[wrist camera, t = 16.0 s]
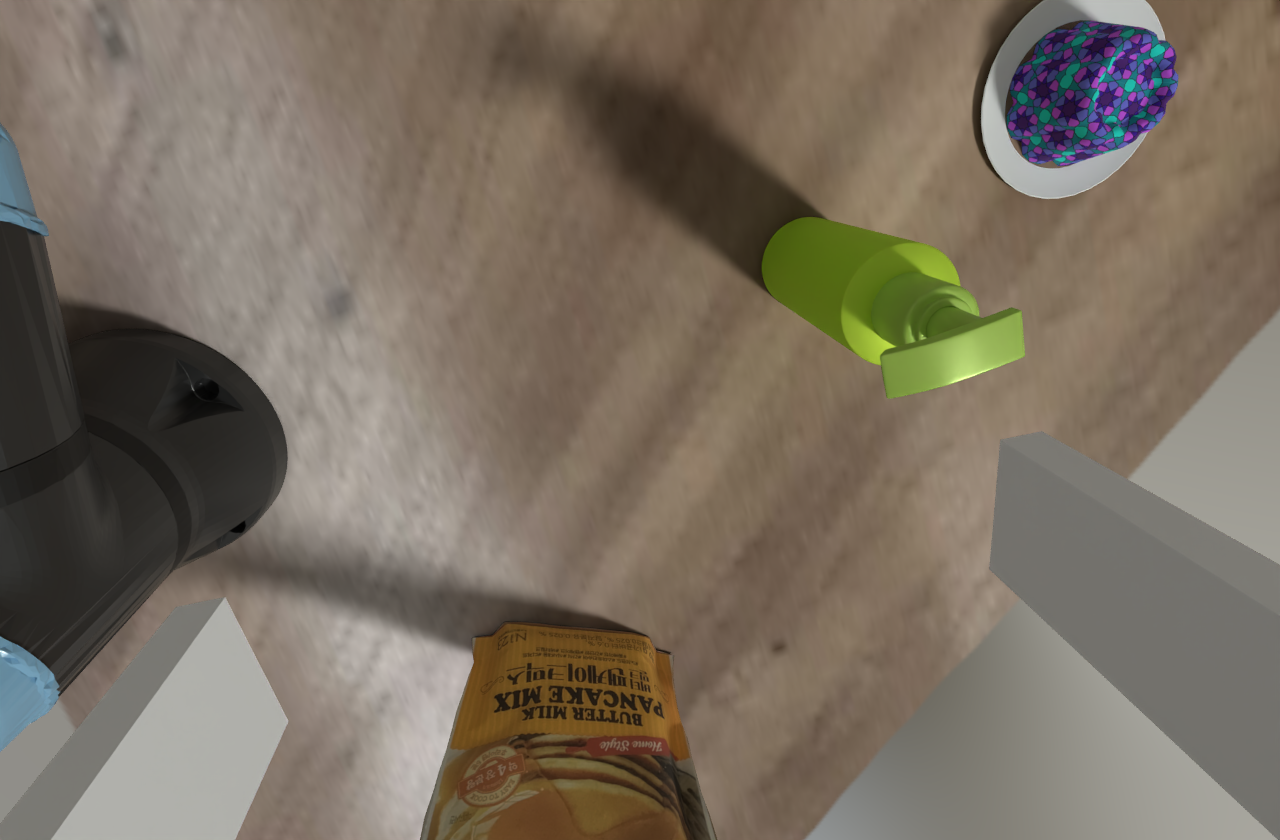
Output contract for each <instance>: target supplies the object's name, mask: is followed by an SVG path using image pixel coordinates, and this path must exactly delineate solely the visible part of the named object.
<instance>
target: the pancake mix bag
mask: <svg viewBox="0 0 1280 840" xmlns="http://www.w3.org/2000/svg"><path fill="white" fill-rule="evenodd" d="M472 650H473V659H474V664H473V667H472V669H471V672H470V674H469V677H468V680H467V683H466V686H465V689H464V692H463V695H462V698H461V700H460V703H459V706H458V709H457V712H456V716H455V720H454V724H453V728H452V732H451V735H450V739H449V743H448V746H447V750H446V753H445V756H444V759H443V762H442V765H441V768H440V771H439V774H438V777H437V781H436V784H435V788H434V791H433V794H432V797H431V800H430V803H429V806H428V809H427V812H426V815H425V818H424V823H423V828H422V833H421V838H420V840H717V837H716V834H715V831H714V827H713V824H712V821H711V818H710V815H709V812H708V809H707V806H706V804H705V801H704V799H703V796H702V793H701V790H700V786H699V782H698V778H697V774H696V770H695V767H694V763H693V760H692V756H691V752H690V747H689V743H688V739H687V736H686V733H685V731H684V728H683V726H682V723H681V720H680V716H679V712H678V708H677V702H676V695H675V687H674V679H673V664H674V655H671V654H668V653H664V652H660V651H657V650H656V649H655V647H654V645H653V644H652V642H651V640H650V638H649V637H647V636H643V635H639V634H636V633H632V632H624V631H613V630H603V629H593V628H582V627H566V626H555V625H548V624H540V623H529V622H504V623H503V624H502V625H501V626H500V627H499V628H498V629H497V631H496V632H495V633H494V634H493V635H490V636H483V637H476V638H472Z"/></svg>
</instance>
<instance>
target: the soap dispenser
mask: <svg viewBox="0 0 1280 840" xmlns="http://www.w3.org/2000/svg"><path fill="white" fill-rule="evenodd" d="M762 276H763V280H764V283H765V285H766V288H767V289H768V291H769V292H770V294H771V295H772V296H773V297H774V298H775V299H776V300H777V301H779V302H780V303H782V304H783V305H785V306H786V307H788V308H789V309H791V310H792V311H794V312H795V313H796V314H798V315H799V316H801V317H802V318H804V319H805V320H807V321H808V322H810V323H811V324H813V325H814V326H816V327H817V328H818V329H820V330H821V331H823V332H824V333H826V334H827V335H829V336H830V337H832V338H833V339H835V340H836V341H838V342H839V343H840V344H842V345H843V346H845V347H846V348H848V349H849V350H851V351H852V352H854V353H855V354H857V355H858V356H860V357H861V358H863V359H864V360H866V361H868V362H871V363H873V364H877V365H881V368H882V374H883V380H884V386H885V391H886V396H887V398H888V399H889V398H896V397H901V396H906V395H910V394H915V393H919V392H923V391H928V390H931V389H935V388H939V387H942V386H946V385H949V384H952V383H956V382H959V381H962V380H965V379H968V378H970V377H973V376H976V375H979V374H981V373H984V372H987V371H989V370H992V369H995V368H997V367H1000V366H1002V365H1005V364H1007V363H1010V362H1012V361H1015V360H1017V359H1020V358H1022V357H1025V350H1024V337H1023V324H1022V312H1021V310H1018V309H1015V308H1009V309H1006V310H1004V311H1001V312H998V313H995V314H993V315H990V316H987V317H985V318H981V317H979V308H978V305H977V302H976V300H975V298H974V297H973V296H972V294H971V293H970V292H968V291H967V290H966V289H964V288H962V287H960V281H959V277H958V274H957V271H956V269H955V267H954V265H953V264H952V262H951V261H950V260H949V258H948V257H947V256H946V255H945V254H943V253H942V252H941V251H939V250H938V249H936V248H934V247H932V246H930V245H927V244H923V243H919V242H915V241H911V240H907V239H903V238H899V237H895V236H891V235H887V234H883V233H879V232H875V231H871V230H866V229H862V228H858V227H854V226H850V225H846V224H842V223H838V222H834V221H830V220H826V219H822V218H818V217H803V218H799V219H796V220H793V221H791V222H789V223H787V224H786V225H784V226H783V227H781V228H780V229H779V230H778V231H777V232H776V233H775V234H774V235H773V237H772V238H771V240H770V241H769V243H768V245H767V247H766V249H765V252H764V255H763V260H762Z"/></svg>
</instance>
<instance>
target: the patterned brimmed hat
mask: <svg viewBox="0 0 1280 840" xmlns="http://www.w3.org/2000/svg"><path fill="white" fill-rule="evenodd" d="M1080 20H1092V21H1084V22H1080V23H1078V24H1077V25H1076V26H1075V27H1074V28H1073V29H1072V30H1065V29H1056V30H1054V29H1055V28H1057V27H1059V26H1062V25H1064V24H1067V23H1070V22H1075V21H1080ZM1052 30H1054V31H1052ZM1050 31H1052V32H1050ZM1049 32H1050V33H1049ZM1047 33H1048V34H1047ZM1043 36H1044V37H1043ZM1042 37H1043V38H1042ZM1041 38H1042V39H1041ZM1040 39H1041V40H1040ZM1039 40H1040V41H1039ZM1037 41H1039V42H1038V43H1037V44H1036V48H1035V51H1034V54H1033V57H1032V59H1031V60H1029V61H1027V62H1025V63H1024V64H1022V65H1020V66H1019V68H1018V70H1017V71H1016V69H1017V67H1018V65H1019V64H1020V62H1021V61H1022V59H1023V58H1024V56H1025V55H1026V53H1027V52H1028V51H1029V50H1030V49H1031V48H1032V47H1033V46H1034V44H1035V43H1036V42H1037ZM1175 61H1176V54H1175V50H1174V48H1173V47H1172V46H1171V45H1170V44H1169V43H1168V42H1167V41H1165V36H1164V32H1163V29H1162V27H1161V24H1160V22H1159V19H1158V17H1157V15H1156V14H1155V12H1154V11H1153V9H1152V8H1151V6H1150V5H1149V4H1148V3H1147V2H1146V1H1145V0H1043V1H1042V2H1040V3H1039V4H1038V5H1037V6H1036V7H1035V8H1033V9H1032V10H1031V11H1030V12H1029V13H1028V14H1026V15H1025V16H1024V18H1023V19H1022V20H1021V21H1020V22H1019V23H1018V24H1017V26H1016V27H1015V28H1014V29H1013V30H1012V31H1011V33H1010V35H1009V36H1008V38H1007V39H1006V41H1005V42H1004V44H1003V45H1002V47H1001V48H1000V50H999V52H998V54H997V56H996V58H995V61H994V63H993V65H992V67H991V70H990V73H989V76H988V79H987V82H986V85H985V89H984V95H983V100H982V108H981V128H982V135H983V142H984V145H985V148H986V152H987V155H988V158H989V159H990V161H991V163H992V165H993V167H994V169H995V170H996V172H997V173H998V174H999V175H1000V176H1001V177H1002V179H1003V180H1004V181H1005V182H1006V183H1008V184H1009V185H1010V186H1012V187H1013V188H1014V189H1016V190H1017V191H1020V192H1022V193H1024V194H1026V195H1029V196H1033V197H1038V198H1043V199H1049V198H1063V197H1067V196H1072V195H1076V194H1078V193H1081V192H1083V191H1086V190H1088V189H1090V188H1092V187H1094V186H1095V185H1097V184H1099V183H1101V182H1102V181H1104V180H1105V179H1107V178H1108V177H1109V176H1110V175H1112V174H1113V173H1114V172H1115V171H1117V170H1118V169H1119V168H1120V167H1121V166H1122V165H1123V164H1124V163H1125V162H1126V161H1127V160H1128V159H1129V158H1130V157H1131V156H1132V154H1133V153H1134V152H1135V150H1136V149H1137V148H1138V146H1139V145H1140V144H1141V142H1142V141H1143V139H1144V137H1145V136H1146V134H1147V132H1148V131H1150V130H1151V129H1152V128H1153V127H1155V126H1156V125H1157V124H1158V123H1159V122H1160V120H1161V119H1162V117H1163V116H1164V114H1165V110H1166V103H1167V102H1168V101H1169V100H1170V99H1171V98H1172V97H1173V96H1174V94H1175V91H1176V89H1177V86H1178V75H1177V73H1176V72H1175V70H1174V69H1173V68H1174V65H1175ZM1015 71H1016V73H1015ZM1014 73H1015V74H1014ZM1013 75H1014V76H1013ZM1011 80H1012V83H1011ZM1010 83H1011V87H1010V93H1011V96H1012V99H1013V102H1014V103H1013V105H1012V107H1011V108H1010V110H1009V112H1008V114H1007V129H1008V132H1009V134H1010V136H1011V138H1013V139H1016V140H1018V141H1021V142H1022V155H1023V156H1024V157H1025V158H1026V159H1027V160H1028V161H1029V162H1032V163H1036V164H1041V163H1045V162H1048V161H1053V162H1054V163H1055V164H1057V165H1058V166H1066V165H1071V164H1073V165H1071V166H1068V167H1063V168H1058V169H1047V168H1042V167H1038V166H1035V165H1033V164H1031V163H1029V162H1028V161H1026V160H1025V159H1024V158H1022V157H1021V156H1020V155H1019V153H1018V152H1017V151H1016V150H1015V149H1014V147H1013V145H1012V143H1011V141H1010V139H1009V136H1008V132H1007V129H1006V121H1005V105H1006V99H1007V94H1008V89H1009V86H1010ZM1080 161H1081V162H1080ZM1077 162H1079V163H1077ZM1074 163H1076V164H1074Z"/></svg>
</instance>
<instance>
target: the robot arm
mask: <svg viewBox="0 0 1280 840" xmlns="http://www.w3.org/2000/svg"><path fill="white" fill-rule="evenodd" d="M44 236H49V233H48V229H47V226H46V225H45V224H44V222H43V221H42V220H40V219H39V218H37V214H36V211H35V208H34V204H33V201H32V197H31V194H30V191H29V187H28V184H27V180H26V177H25V174H24V170H23V167H22V164H21V160H20V157H19V153H18V150H17V148H16V145H15V143H14V141H13V139H12V137H11V136H10V134H9V133H8V131H7V130H6V129H5V128H4V126H3V125H2V124H1V123H0V752H1V751H2V750H3V749H4V748H5V747H6V746H7V745H8V744H9V743H10V742H11V741H12V740H13V739H14V738H15V737H16V736H17V735H18V734H19V733H20V732H21V731H22V730H23V729H24V728H26V726H28V725H29V724H30V723H32V722H34V721H36V720H37V719H38V718H40V717H41V716H43V715H45V714H46V713H48V712H49V711H50V710H51V708H52V707H53V706H54V705H55V703H56V702H57V700H58V698H59V696H60V695H61V694H62V693H63V692H64V691H65V690H66V689H67V687H68V686H69V685H70V684H71V683H72V682H73V681H74V680H75V679H76V677H77V676H78V675H79V674H80V673H81V672H82V671H83V670H84V669H85V667H86V666H87V665H88V664H89V663H90V662H91V661H92V660H93V659H94V657H95V656H96V655H97V654H98V653H99V652H100V651H101V650H102V649H103V648H104V646H105V645H106V644H107V643H108V642H109V641H110V640H111V639H112V638H113V636H114V635H115V634H116V633H117V632H118V631H119V630H120V629H121V628H122V626H123V625H124V624H125V623H126V622H127V621H128V620H129V619H130V618H131V616H132V615H133V614H134V613H135V612H136V611H137V610H138V609H139V608H140V606H141V605H142V604H143V603H144V602H145V601H146V600H147V599H148V598H149V597H150V595H151V594H152V593H153V592H154V591H155V590H156V589H157V588H158V587H159V585H160V584H161V583H162V582H163V581H164V580H165V579H166V578H167V577H168V575H169V574H170V573H171V572H172V571H173V570H175V569H178V568H180V567H182V566H184V565H186V564H188V563H190V562H192V561H195V560H197V559H199V558H201V557H203V556H205V555H207V554H210V553H212V552H214V551H216V550H218V549H220V548H222V547H224V546H226V545H228V544H230V543H232V542H233V541H235V540H236V539H238V538H239V537H241V536H242V535H243V534H245V533H246V532H247V531H248V530H250V529H251V528H252V527H253V526H254V525H255V524H256V523H257V521H258V520H259V519H260V518H261V517H262V515H263V514H264V513H265V512H266V511H267V510H268V508H269V507H270V506H271V505H272V503H273V502H274V500H275V499H276V497H277V496H278V494H279V492H280V490H281V488H282V485H283V482H284V479H285V475H286V469H287V445H286V439H285V435H284V431H283V428H282V425H281V423H280V420H279V418H278V416H277V414H276V412H275V410H274V408H273V406H272V405H271V403H270V402H269V400H268V398H267V397H266V396H265V394H264V393H263V392H262V390H261V389H260V388H259V387H258V386H257V385H256V383H255V382H254V381H253V380H252V379H251V378H250V377H249V376H248V375H247V374H245V373H244V372H243V371H242V370H241V369H240V368H239V367H237V366H236V365H235V364H233V363H232V362H231V361H229V360H228V359H226V358H225V357H223V356H222V355H220V354H218V353H217V352H215V351H213V350H211V349H209V348H208V347H206V346H203V345H201V344H199V343H197V342H194V341H192V340H189V339H186V338H183V337H180V336H177V335H173V334H169V333H165V332H160V331H153V330H144V329H120V330H111V331H105V332H101V333H97V334H93V335H90V336H87V337H85V338H82V339H79V340H77V341H74V342H72V343H69V344H68V341H67V336H66V332H65V328H64V323H63V319H62V314H61V310H60V305H59V301H58V296H57V292H56V288H55V283H54V279H53V274H52V270H51V265H50V261H49V257H48V252H47V248H46V243H45V239H44ZM989 569H990V570H991V571H992V572H993V573H994V574H995V575H996V576H997V577H998V578H999V579H1000V580H1001V581H1003V582H1004V583H1005V584H1006V585H1007V586H1008V587H1009V588H1010V589H1011V590H1012V591H1013V592H1014V593H1015V594H1016V595H1017V596H1019V597H1020V598H1021V599H1022V600H1023V601H1024V602H1025V603H1026V604H1027V605H1028V606H1029V607H1030V608H1031V609H1033V610H1034V611H1035V612H1036V613H1037V614H1038V615H1039V616H1040V617H1041V618H1042V619H1043V620H1044V621H1045V622H1046V623H1047V624H1048V625H1050V626H1051V627H1052V628H1053V629H1054V630H1055V631H1056V632H1057V633H1058V634H1059V635H1060V636H1061V637H1063V639H1064V640H1066V641H1067V642H1068V643H1069V644H1070V645H1071V646H1072V647H1073V648H1074V649H1075V650H1076V651H1077V652H1078V653H1079V654H1080V655H1082V656H1083V657H1084V658H1085V659H1086V660H1087V661H1088V662H1089V663H1090V664H1091V665H1092V666H1093V667H1094V668H1095V669H1096V670H1097V671H1099V672H1100V673H1101V674H1102V675H1103V676H1104V677H1105V678H1106V679H1107V680H1108V681H1109V682H1110V683H1111V684H1112V685H1113V686H1115V687H1116V688H1117V689H1118V690H1119V691H1120V692H1121V693H1122V694H1123V695H1124V696H1125V697H1126V698H1127V699H1129V701H1131V702H1132V703H1133V704H1134V705H1135V706H1136V707H1137V708H1138V709H1139V710H1140V711H1141V712H1142V713H1143V714H1144V715H1145V716H1147V717H1148V718H1149V719H1150V720H1151V721H1152V722H1153V723H1154V724H1155V725H1156V726H1157V727H1158V728H1159V729H1160V730H1162V731H1163V732H1164V733H1165V734H1166V735H1167V736H1168V737H1169V738H1170V739H1171V740H1172V741H1173V742H1174V743H1175V744H1176V745H1177V746H1179V747H1180V748H1181V749H1182V750H1183V751H1184V752H1185V753H1186V754H1187V755H1188V756H1189V757H1190V758H1191V759H1192V760H1194V761H1195V762H1196V763H1197V764H1198V765H1199V766H1200V767H1201V768H1202V769H1203V770H1204V771H1205V772H1206V773H1207V774H1209V775H1210V776H1211V777H1212V778H1213V779H1214V780H1215V781H1216V782H1217V783H1218V784H1219V785H1220V786H1222V788H1223V789H1224V790H1226V791H1227V792H1228V793H1229V794H1230V795H1231V796H1232V797H1233V798H1234V799H1235V800H1236V801H1237V802H1238V803H1239V804H1240V805H1242V806H1243V807H1244V808H1245V809H1246V810H1247V811H1248V812H1249V813H1250V814H1251V815H1252V816H1253V817H1254V818H1255V819H1257V820H1258V821H1259V822H1260V823H1261V824H1262V825H1263V826H1264V827H1265V828H1266V829H1267V830H1268V831H1269V832H1270V833H1272V835H1274V836H1275V837H1276V838H1277V839H1278V840H1280V565H1279V564H1277V563H1276V562H1274V561H1272V560H1270V559H1268V558H1267V557H1265V556H1263V555H1261V554H1260V553H1258V552H1256V551H1254V550H1252V549H1250V548H1249V547H1247V546H1245V545H1244V544H1242V543H1240V542H1238V541H1236V540H1235V539H1233V538H1231V537H1229V536H1227V535H1226V534H1224V533H1222V532H1220V531H1219V530H1217V529H1215V528H1213V527H1211V526H1209V525H1208V524H1206V523H1204V522H1202V521H1201V520H1199V519H1197V518H1195V517H1194V516H1192V515H1190V514H1188V513H1186V512H1185V511H1183V510H1181V509H1179V508H1177V507H1176V506H1174V505H1172V504H1170V503H1169V502H1167V501H1165V500H1163V499H1161V498H1160V497H1158V496H1156V495H1154V494H1153V493H1151V492H1149V491H1147V490H1145V489H1144V488H1142V487H1140V486H1138V485H1137V484H1135V483H1133V482H1131V481H1129V480H1128V479H1126V478H1124V477H1122V476H1121V475H1119V474H1117V473H1115V472H1113V471H1112V470H1110V469H1108V468H1106V467H1104V466H1103V465H1101V464H1099V463H1097V462H1096V461H1094V460H1092V459H1090V458H1088V457H1087V456H1085V455H1083V454H1081V453H1080V452H1078V451H1076V450H1074V449H1072V448H1071V447H1069V446H1067V445H1065V444H1063V443H1062V442H1060V441H1058V440H1056V439H1055V438H1053V437H1051V436H1049V435H1047V434H1046V433H1044V432H1042V431H1041V432H1036V433H1031V434H1026V435H1021V436H1017V437H1012V438H1007V439H1002V440H1000V450H999V462H998V473H997V485H996V497H995V508H994V520H993V532H992V543H991V555H990V567H989ZM287 723H288V719H287V717H286V715H285V713H284V711H283V710H282V708H281V706H280V704H279V702H278V700H277V698H276V696H275V694H274V692H273V690H272V688H271V686H270V684H269V682H268V680H267V678H266V676H265V674H264V672H263V670H262V668H261V666H260V664H259V663H258V661H257V659H256V657H255V655H254V653H253V651H252V649H251V647H250V645H249V643H248V641H247V639H246V637H245V635H244V633H243V631H242V629H241V627H240V625H239V623H238V621H237V619H236V617H235V615H234V614H233V612H232V610H231V608H230V606H229V604H228V602H227V600H226V598H225V597H223V598H218V599H214V600H209V601H204V602H199V603H194V604H189V605H184V606H179V607H176V608H175V609H174V610H173V611H172V612H171V614H170V615H169V616H168V617H167V619H166V620H165V621H164V622H163V624H162V625H161V626H160V627H159V628H158V630H157V631H156V632H155V633H154V635H153V636H152V637H151V638H150V640H149V641H148V642H147V643H146V645H145V646H144V647H143V648H142V649H141V651H140V652H139V653H138V654H137V656H136V657H135V658H134V659H133V661H132V662H131V663H130V664H129V665H128V667H127V668H126V669H125V670H124V672H123V673H122V674H121V675H120V677H119V678H118V679H117V680H116V681H115V683H114V684H113V685H112V686H111V688H110V689H109V690H108V691H107V693H106V694H105V695H104V696H103V698H102V699H101V700H100V701H99V702H98V704H97V705H96V706H95V707H94V709H93V710H92V711H91V712H90V714H89V715H88V716H87V717H86V718H85V720H84V721H83V722H82V723H81V725H80V726H79V727H78V728H77V730H76V731H75V732H74V733H73V734H72V736H71V737H70V738H69V739H68V741H67V742H66V743H65V744H64V746H63V747H62V748H61V749H60V751H59V752H58V753H57V754H56V755H55V757H54V758H53V759H52V760H51V762H50V763H49V764H48V765H47V767H46V768H45V769H44V770H43V772H42V773H41V774H40V775H39V777H38V778H37V779H36V780H35V781H34V783H33V784H32V785H31V786H30V787H29V789H28V790H27V791H26V792H25V794H24V795H23V796H22V797H21V799H20V800H19V801H18V802H17V804H16V805H15V806H14V807H13V808H12V810H11V811H10V812H9V813H8V815H7V816H6V817H5V818H4V820H3V821H2V822H1V823H0V840H235V839H236V836H237V834H238V832H239V830H240V828H241V825H242V823H243V821H244V819H245V816H246V814H247V812H248V810H249V808H250V805H251V803H252V801H253V799H254V796H255V794H256V792H257V790H258V788H259V785H260V783H261V781H262V779H263V777H264V774H265V772H266V770H267V768H268V765H269V763H270V761H271V759H272V757H273V754H274V752H275V750H276V748H277V745H278V743H279V741H280V739H281V737H282V734H283V732H284V730H285V728H286V725H287Z"/></svg>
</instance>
